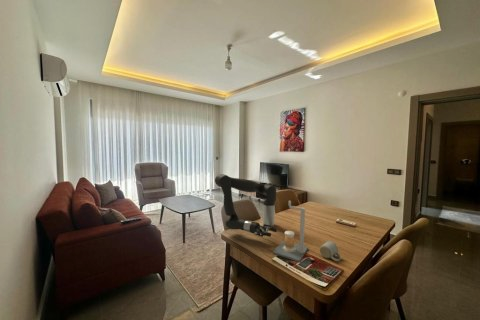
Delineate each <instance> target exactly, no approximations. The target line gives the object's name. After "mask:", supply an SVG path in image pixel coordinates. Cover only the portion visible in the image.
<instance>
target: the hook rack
mask: <svg viewBox="0 0 480 320" xmlns="http://www.w3.org/2000/svg"><path fill="white" fill-rule="evenodd" d="M287 206H288V207H289V209H291V210H293V209H294V210H297V211H300V215H299V216H300V219H299V220H300V221H299V223H300V224H299V243H296V242H294V250H293V251H287V250H285V249H284V246H285V239H284V240H282V242H280V243H279V245H277V247H276V248H275V249H274V250H273V251H272V254H273V255H275V256H279V257H283V258H285V259H289V260H292V261H294V262H296V263H297V262H298V263H301V260H302V259H303V258H304V255H306V253H307V251H308V250H309V246H306V245H305V222H306V208H305V207H300V206H295V205H292V201H291V200H288V205H287Z"/></svg>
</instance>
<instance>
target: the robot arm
mask: <svg viewBox="0 0 480 320" xmlns="http://www.w3.org/2000/svg"><path fill="white" fill-rule="evenodd" d="M214 182H215V184H216V186H218V187H219V188H221V190H222V193H223V208H224V213H225V215H226V217H229V218H228V219H226V220H225V226H226V228H227V229H229V230H241V231H244V232H247V233H249V234H254V235H255V236H257V237H258V236H259V237H261V238H262V237H265V236H266V237H268V238H271V237H272V233H271V232H273V233H277V228H275V227H274V226H275V213H276V212H275V210H276V209H275V206H276V205H275V203H276V200H277V189H276V186H274V185H272V184H267V183H259V182H256V181H254V180H250V179H245V178H238V177H231V176H229V175H226V174H222V173H221V174H218V175H217V176H216V177H215V178H214ZM232 189H235V190H238V191H240V192H245V193H258V194H261V195H264V196H266V199H264V200H263V202H262V225H261V224H260V223H259V222H257V221H253V220H247V219H243V218H241V219H240V218H239V216H238V214H237V213H236V210H235V206H234V201H233V194H232V192H233V191H232Z"/></svg>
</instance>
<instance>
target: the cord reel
mask: <svg viewBox="0 0 480 320" xmlns="http://www.w3.org/2000/svg"><path fill="white" fill-rule="evenodd" d="M295 235H296V233H295V232H294V231H293V230H285V231H284V240H285V246H284V249H285V250H287V251H293V250H294V243H295Z"/></svg>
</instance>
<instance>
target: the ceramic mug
mask: <svg viewBox="0 0 480 320" xmlns="http://www.w3.org/2000/svg"><path fill="white" fill-rule="evenodd" d="M319 253H320V255H321V256H322V257H323V258H324V259H325V258H326V259H332V260H333V261H335V262H340V261H341V259H342V257H341V255H340V253H339V249H338V246H337V245H336V243H334V242H333V241H331V240H328V241H326V242H325V243H324V244H322V245H321V246H320V248H319ZM335 255H336V256H337V258H336V257H334V256H335Z"/></svg>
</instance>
